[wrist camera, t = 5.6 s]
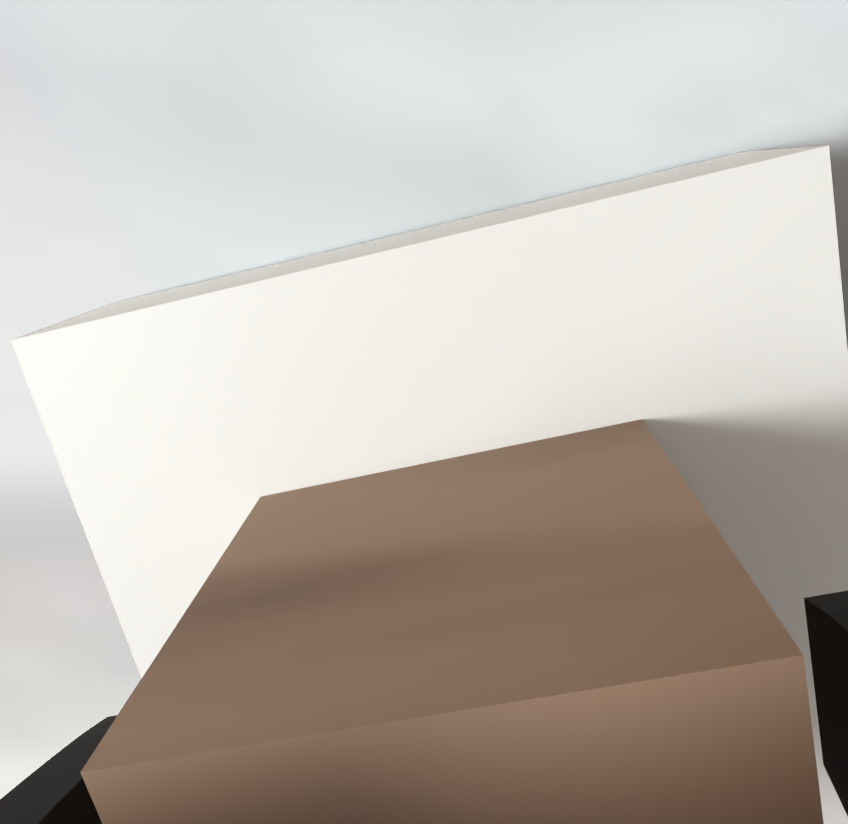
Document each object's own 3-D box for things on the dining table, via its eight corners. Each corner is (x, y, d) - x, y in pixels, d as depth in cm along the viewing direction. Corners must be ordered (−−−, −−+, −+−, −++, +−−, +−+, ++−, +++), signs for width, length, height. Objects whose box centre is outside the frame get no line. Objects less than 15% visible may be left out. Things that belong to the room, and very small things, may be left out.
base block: (809, 716, 14) (893, 852, 11) (285, 796, 16) (242, 938, 13) (741, 152, 12) (829, 145, 9) (113, 302, 13) (10, 339, 10)
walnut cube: (697, 749, 11) (866, 1183, 6) (357, 801, 12) (277, 1232, 7) (642, 418, 10) (803, 654, 5) (260, 496, 10) (80, 771, 6)
